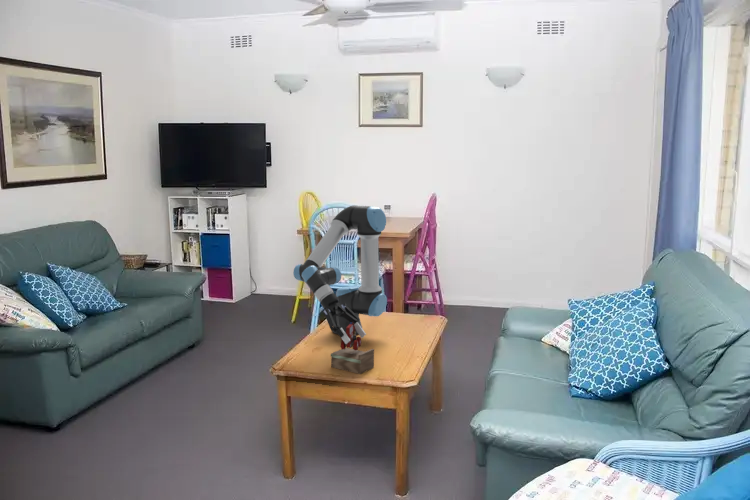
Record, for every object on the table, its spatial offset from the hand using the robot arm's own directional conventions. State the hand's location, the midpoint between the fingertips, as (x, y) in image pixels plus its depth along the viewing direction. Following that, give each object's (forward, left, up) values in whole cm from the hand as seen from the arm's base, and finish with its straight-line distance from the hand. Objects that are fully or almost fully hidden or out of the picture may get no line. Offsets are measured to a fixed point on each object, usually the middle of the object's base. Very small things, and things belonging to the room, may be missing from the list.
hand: (356, 339), depth 260 cm
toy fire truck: (-3, 0, -4) cm, 5 cm away
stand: (-2, 0, -13) cm, 13 cm away
